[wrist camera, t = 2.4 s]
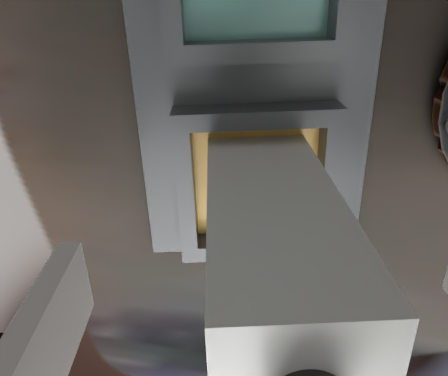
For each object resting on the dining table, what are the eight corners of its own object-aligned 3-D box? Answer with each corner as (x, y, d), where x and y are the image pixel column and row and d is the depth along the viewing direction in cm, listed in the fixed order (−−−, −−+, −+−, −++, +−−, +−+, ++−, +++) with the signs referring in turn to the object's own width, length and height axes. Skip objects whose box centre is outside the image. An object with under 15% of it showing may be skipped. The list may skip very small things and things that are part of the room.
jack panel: (104, -166, 15) (87, -192, 13) (401, -175, 15) (433, -202, 13) (155, 244, 23) (149, 270, 21) (350, 236, 23) (365, 261, 21)
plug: (208, 138, 19) (203, 419, 7) (303, 134, 19) (474, 406, 7) (212, 233, 22) (215, 574, 9) (297, 229, 22) (418, 563, 9)
